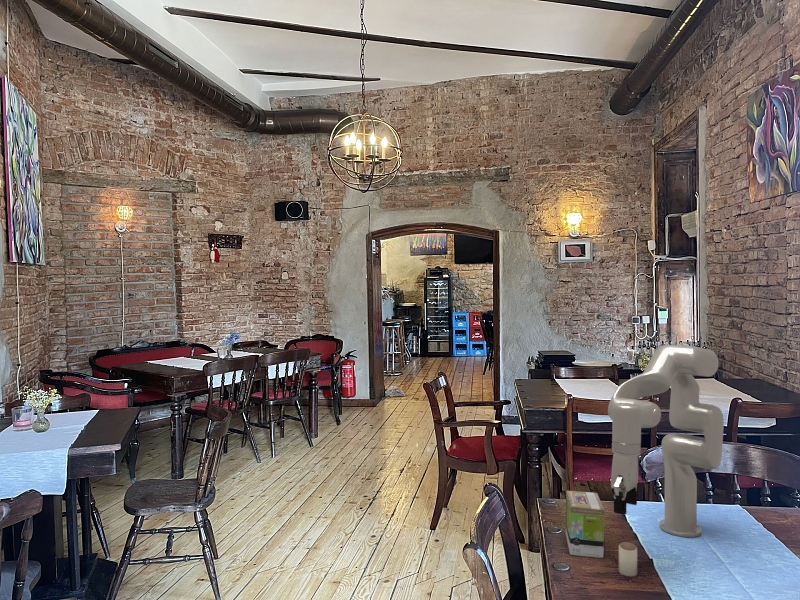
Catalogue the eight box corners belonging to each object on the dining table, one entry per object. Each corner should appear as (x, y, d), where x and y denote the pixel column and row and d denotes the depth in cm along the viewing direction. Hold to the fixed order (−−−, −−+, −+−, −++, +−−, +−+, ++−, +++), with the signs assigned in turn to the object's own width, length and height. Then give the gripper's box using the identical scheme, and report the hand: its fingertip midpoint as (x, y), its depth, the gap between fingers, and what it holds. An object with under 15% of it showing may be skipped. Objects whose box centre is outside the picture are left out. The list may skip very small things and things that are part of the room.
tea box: (604, 559, 165) (605, 508, 165) (569, 555, 167) (569, 506, 167) (597, 537, 179) (597, 491, 179) (564, 534, 181) (565, 489, 181)
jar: (621, 566, 160) (621, 539, 160) (639, 571, 157) (639, 544, 157) (616, 572, 156) (616, 545, 156) (634, 578, 153) (634, 550, 153)
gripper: (622, 440, 166) (621, 497, 166) (602, 451, 153) (601, 514, 153) (648, 444, 162) (648, 503, 162) (630, 456, 148) (630, 521, 148)
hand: (625, 508), depth 157 cm, fingers open, 9 cm apart
